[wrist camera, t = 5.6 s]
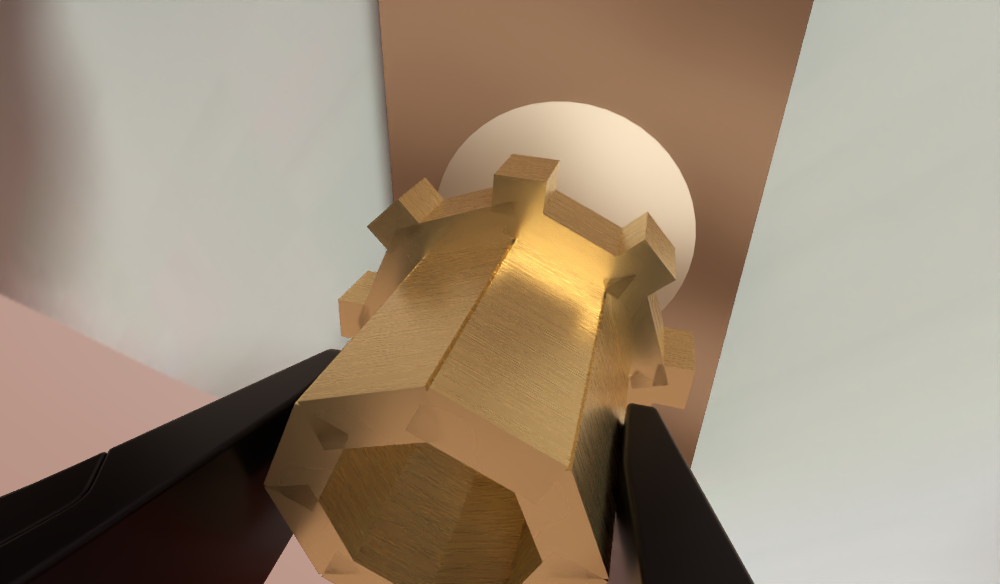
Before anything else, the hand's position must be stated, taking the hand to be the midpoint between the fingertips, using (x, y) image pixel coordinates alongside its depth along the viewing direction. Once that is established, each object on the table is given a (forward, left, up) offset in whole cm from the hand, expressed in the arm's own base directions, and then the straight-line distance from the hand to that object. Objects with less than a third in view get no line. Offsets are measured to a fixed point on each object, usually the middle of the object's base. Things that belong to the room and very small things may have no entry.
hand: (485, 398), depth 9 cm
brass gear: (0, 0, -2) cm, 2 cm away
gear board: (0, 0, -8) cm, 8 cm away
